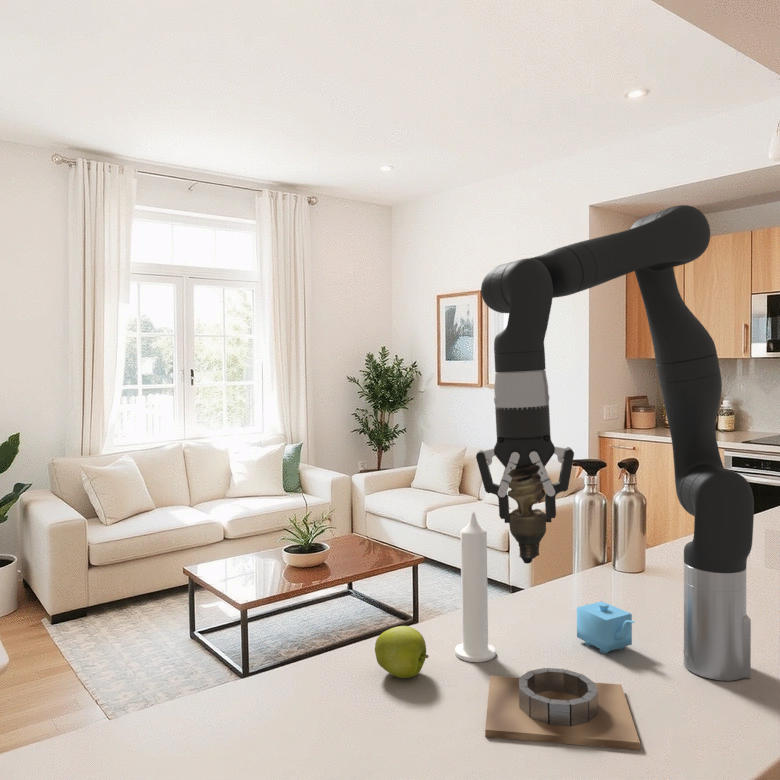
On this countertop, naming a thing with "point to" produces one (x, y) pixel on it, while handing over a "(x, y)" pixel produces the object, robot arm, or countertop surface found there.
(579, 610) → the teapot
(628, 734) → the board
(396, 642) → the apple
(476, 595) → the candle
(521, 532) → the light bulb
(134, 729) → the countertop surface
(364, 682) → the countertop surface
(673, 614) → the countertop surface
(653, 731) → the countertop surface
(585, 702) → the ring seat
